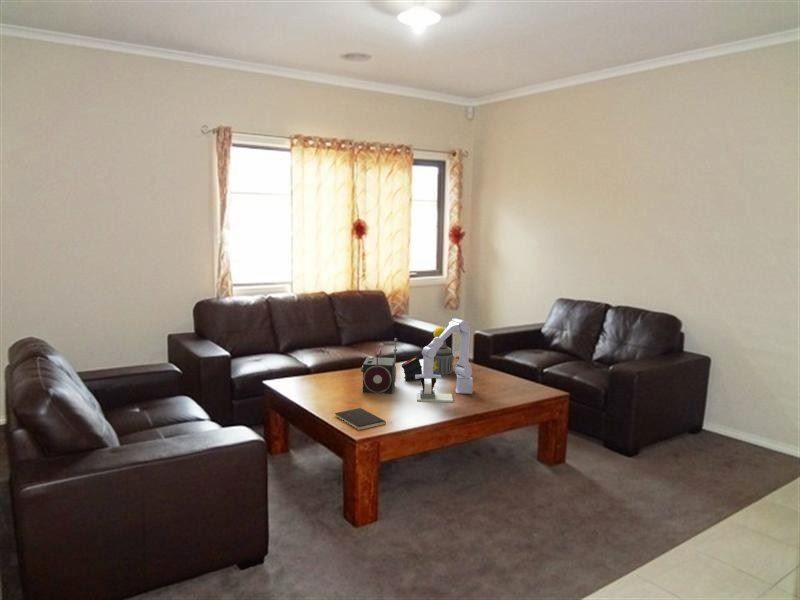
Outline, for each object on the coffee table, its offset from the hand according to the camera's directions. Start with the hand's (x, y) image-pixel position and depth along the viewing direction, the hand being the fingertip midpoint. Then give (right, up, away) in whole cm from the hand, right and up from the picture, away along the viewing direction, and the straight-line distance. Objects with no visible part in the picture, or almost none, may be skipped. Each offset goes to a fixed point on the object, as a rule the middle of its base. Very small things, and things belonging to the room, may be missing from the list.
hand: (427, 391), depth 336 cm
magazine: (-8, +1, +34) cm, 35 cm away
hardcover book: (-36, -10, -36) cm, 52 cm away
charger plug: (0, -2, 0) cm, 2 cm away
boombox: (-28, -2, +16) cm, 32 cm away
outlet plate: (+4, -4, +1) cm, 6 cm away
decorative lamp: (+10, +4, +57) cm, 58 cm away
